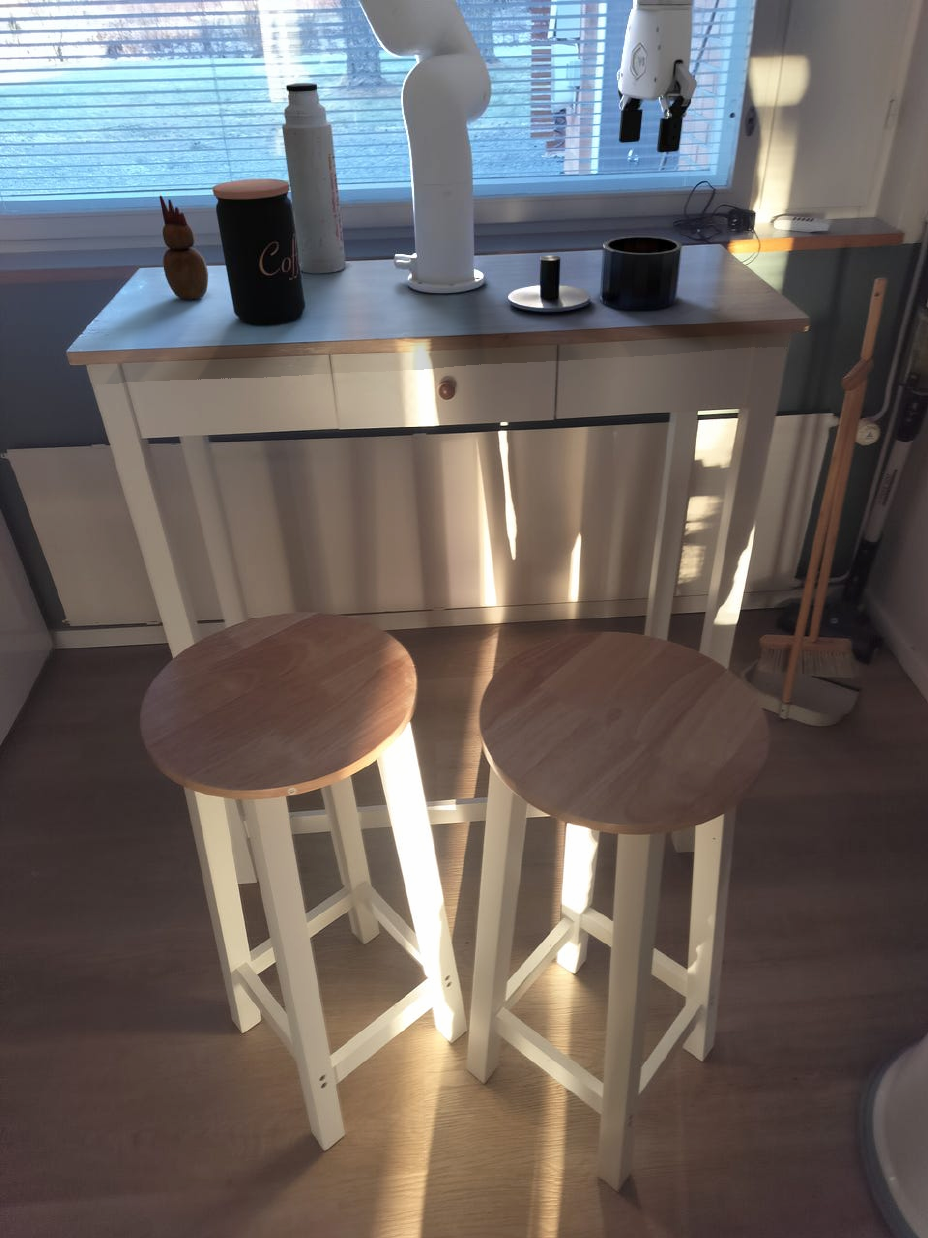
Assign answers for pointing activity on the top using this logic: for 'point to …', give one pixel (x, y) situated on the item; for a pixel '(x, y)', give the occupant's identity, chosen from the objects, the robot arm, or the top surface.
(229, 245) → the coffee jar
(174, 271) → the wooden figurine
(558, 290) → the lid
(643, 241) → the pot
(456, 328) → the top surface
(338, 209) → the thermos bottle
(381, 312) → the top surface
